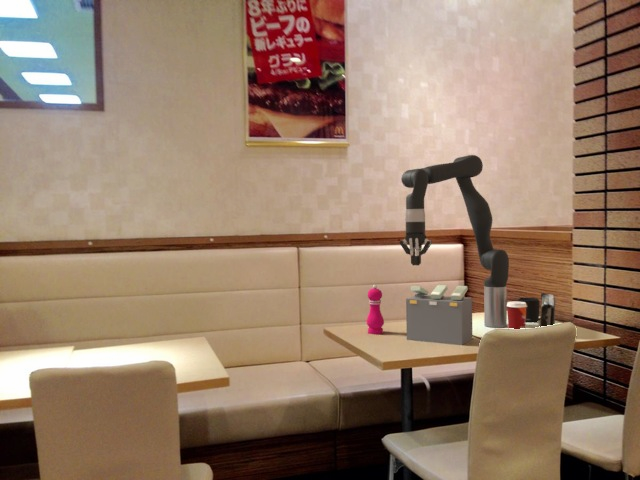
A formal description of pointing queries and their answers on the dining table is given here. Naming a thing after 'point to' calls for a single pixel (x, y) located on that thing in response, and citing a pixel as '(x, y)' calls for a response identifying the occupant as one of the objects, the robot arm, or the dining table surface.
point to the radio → (547, 310)
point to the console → (439, 319)
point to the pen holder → (531, 308)
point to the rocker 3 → (458, 292)
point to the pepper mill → (375, 312)
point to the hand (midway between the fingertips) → (415, 265)
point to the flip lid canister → (516, 314)
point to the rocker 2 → (438, 291)
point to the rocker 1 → (419, 290)
